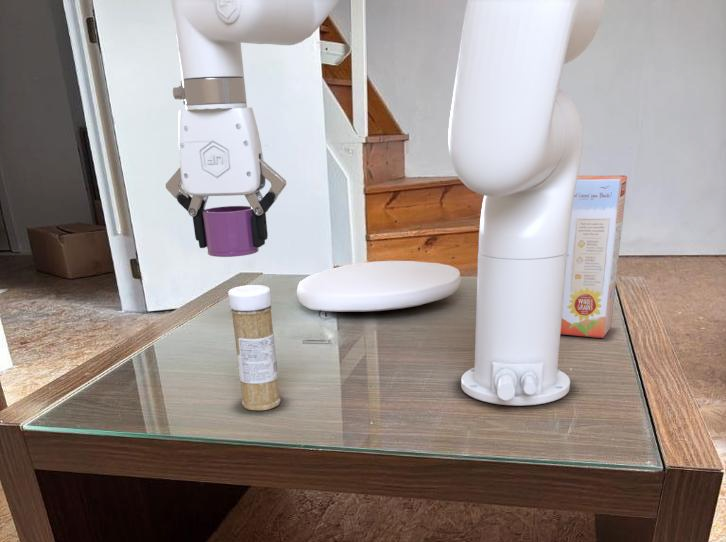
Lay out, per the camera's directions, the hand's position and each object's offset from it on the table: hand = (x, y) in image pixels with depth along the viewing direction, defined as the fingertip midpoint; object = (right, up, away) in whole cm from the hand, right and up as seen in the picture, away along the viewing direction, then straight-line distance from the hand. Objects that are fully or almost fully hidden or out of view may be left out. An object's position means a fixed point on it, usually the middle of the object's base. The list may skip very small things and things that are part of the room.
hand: (232, 244), depth 98 cm
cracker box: (+46, -10, +9) cm, 48 cm away
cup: (0, -1, 0) cm, 1 cm away
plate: (+20, -1, +29) cm, 35 cm away
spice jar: (+6, -23, -13) cm, 27 cm away
